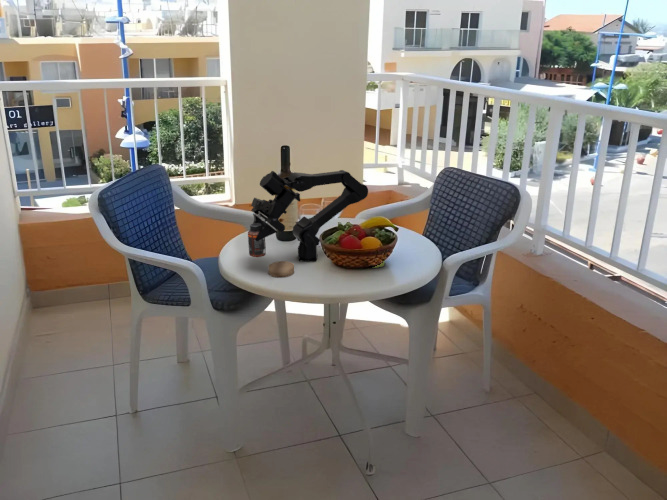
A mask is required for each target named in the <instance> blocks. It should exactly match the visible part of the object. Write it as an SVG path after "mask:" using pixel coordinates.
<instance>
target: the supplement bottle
mask: <svg viewBox="0 0 667 500" xmlns="http://www.w3.org/2000/svg"><path fill="white" fill-rule="evenodd" d="M261 229H262V225H261V224H260V223H253V222H252V223H250V225H249V230H248V231H247V242H248V244H247V245H248V255H249V256H250V257H252V258H262V257H264V256H266V255H267V253H266V252H267V249H266V237H265V238H263V239H261V240H259V241H256V240H255V238H256V237H257V235H258V233H259V232H260V230H261Z"/></svg>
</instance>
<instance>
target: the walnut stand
mask: <svg viewBox="0 0 667 500" xmlns="http://www.w3.org/2000/svg"><path fill="white" fill-rule="evenodd" d="M294 274H295V264H294V263H292V262H291V261H287V260H285V261H284V260H281V261H278V260H277V261H274V262H272V263H269V265H268V275H269V276H270V277H274V278H288V277H291V276H293V275H294Z"/></svg>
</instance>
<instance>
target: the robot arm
mask: <svg viewBox="0 0 667 500" xmlns="http://www.w3.org/2000/svg"><path fill="white" fill-rule="evenodd" d="M340 183H341V185H342V186H343V187H344V188H343V191H342V192H341V194H340V195H339V196H338V197H337V198H335V199H334V200H333V201H332V202H330V203H328V204H327V206H325V207H324V208H322V209H321V210H319V211H318V212H317V213H316V214H315V215H313V216H312V217H309V218H307V216H303V217H301V218H300V220H298V221H295V224H294V226H293V227H292V235H293V236H294V237H295V238H296V240H297V241H299V245H298V247H297V258H298V261H299V262H317V261H318V260H317V259H318V257H319V255H318V246H319V245H320V243H321V242H320V241H321V239H320V238H319V237H318V236H317V234H319V231H320V228H321V227H323V226H324V225H326V224H327V223H328V222H330V221H331V220H332V219H333V218H334V217H336V215H338V214H339V213H340V212H342V211H343V210H345V209H346V208H347V207H349V206H350V205H353V204H357V203H360V202H362V201H363V200H365V199H366V198H367V197H368V196H369V189H368V186H367V185H366V184H363V183H361V182H360V181H358V179H357V178H355V177H353V175H351V172H349V171H346V170H343V169H341V170H337V171H329V172H320V173H305V172H291V173H290V174H289V175H288V176H285V177H280V176H279V174H277V172H275V171H273V170H271V171H270V172H269V173H267V174H265V175H264V176H263V177H262V178H261V179H260V182H259V186H260V187H262V189H264V190H265V191H266V192H267V193H268V194H269V195H271V196H272V197H273V196H275V197H274V198H273V199H269V200H265V199H260V198H257V197H253V199H252V201H251V202H252V203H251V204H250V205H251V206H250V207H252V208H251V212H252V215H253V222H252V224H253V223H260V224H261V225H262V229H261V230H260V232H259V233H258V235H257V237H256V238H255V240H256V241H259V240H261V239H263V238H265V239H266V238H267V237H269V236H272V235H274V234H275V233H276V234H278V233H280V234H283V233H284V231H285V230H286V226H285V224H284V223H282V222H281V221H280V220H279V219H280V218H281V217H282V215H283V214H284V215H286V214H287V213H288V211H287V209H288V208H289V207H290V205H291V204H292V203H293V201H294V200H296V201H297V202H301V193H299V192H305V191H308V190H311V189H313V188H315V187H318V186H323V185H324V186H325V185H326V186H327V185H333V184H340ZM287 187H288V188H287ZM295 191H297V192H295Z"/></svg>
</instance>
